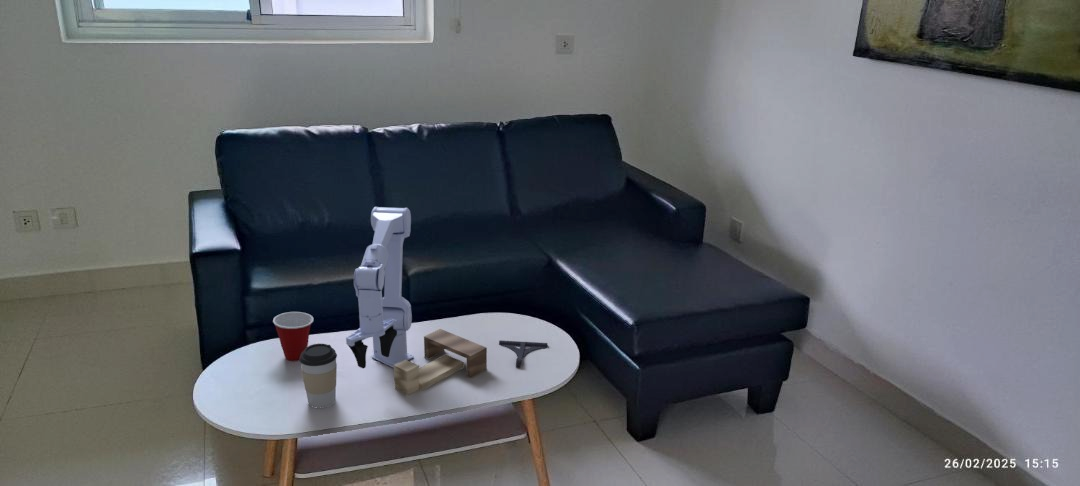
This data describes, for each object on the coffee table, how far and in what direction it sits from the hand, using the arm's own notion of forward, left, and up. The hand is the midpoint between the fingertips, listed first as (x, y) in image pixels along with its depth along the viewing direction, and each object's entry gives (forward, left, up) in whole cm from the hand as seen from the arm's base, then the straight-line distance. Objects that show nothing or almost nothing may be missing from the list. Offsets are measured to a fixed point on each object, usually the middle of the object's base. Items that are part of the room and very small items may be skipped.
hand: (373, 361), depth 187 cm
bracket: (+14, +42, -11) cm, 46 cm away
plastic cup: (-34, 0, -11) cm, 36 cm away
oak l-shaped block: (+3, +16, -11) cm, 19 cm away
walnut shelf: (+3, +26, -10) cm, 28 cm away
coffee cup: (-9, -10, -11) cm, 17 cm away
